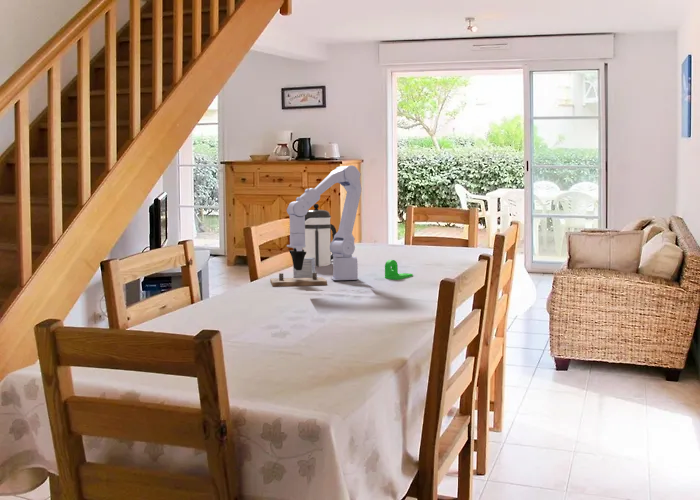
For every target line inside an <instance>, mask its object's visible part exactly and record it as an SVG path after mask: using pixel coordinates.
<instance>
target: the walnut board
mask: <svg viewBox="0 0 700 500" xmlns="http://www.w3.org/2000/svg"><path fill="white" fill-rule="evenodd" d="M269 280H270V281H269V282H270V285H271V286H272V288H273V287H275V288H276V287H303V286H305V287H306V286H308V287H309V286H328V281H327V280H326V279H325V278H324V277H323V276H321V277H318V273H317V272H315V273H313V278H294V277H286V278H285V277H284V273H282V272H281V273H278V278H269Z"/></svg>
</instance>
